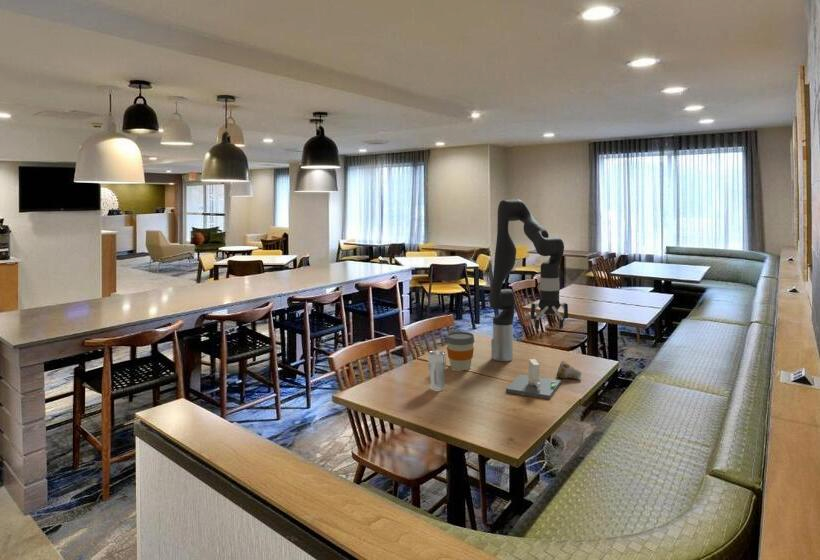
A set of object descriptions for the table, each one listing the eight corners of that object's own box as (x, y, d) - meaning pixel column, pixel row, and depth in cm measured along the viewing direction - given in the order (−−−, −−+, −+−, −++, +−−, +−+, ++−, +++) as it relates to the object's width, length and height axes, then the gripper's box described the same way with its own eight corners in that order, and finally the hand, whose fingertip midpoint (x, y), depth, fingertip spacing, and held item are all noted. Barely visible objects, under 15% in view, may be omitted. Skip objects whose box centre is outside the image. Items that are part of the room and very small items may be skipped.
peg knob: (526, 380, 210) (526, 359, 208) (537, 380, 210) (537, 359, 208) (532, 390, 199) (533, 367, 198) (544, 389, 199) (544, 367, 198)
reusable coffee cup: (462, 361, 242) (462, 330, 240) (480, 368, 232) (480, 335, 229) (441, 366, 235) (440, 334, 233) (458, 374, 225) (458, 340, 223)
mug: (582, 382, 211) (570, 362, 210) (561, 389, 217) (549, 369, 216) (585, 373, 217) (574, 353, 216) (564, 379, 223) (553, 360, 222)
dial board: (506, 392, 203) (506, 386, 202) (519, 377, 218) (519, 372, 218) (549, 399, 195) (549, 392, 194) (560, 383, 210) (560, 377, 210)
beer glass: (427, 386, 211) (427, 350, 209) (444, 385, 212) (444, 349, 210) (429, 392, 205) (429, 355, 202) (447, 391, 205) (446, 355, 203)
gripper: (532, 290, 200) (531, 331, 203) (570, 290, 199) (569, 331, 201) (529, 287, 208) (529, 326, 210) (566, 286, 206) (565, 326, 208)
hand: (548, 328), depth 206 cm, fingers open, 8 cm apart
